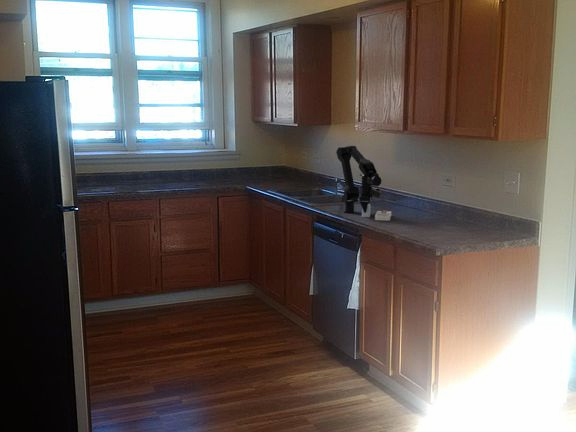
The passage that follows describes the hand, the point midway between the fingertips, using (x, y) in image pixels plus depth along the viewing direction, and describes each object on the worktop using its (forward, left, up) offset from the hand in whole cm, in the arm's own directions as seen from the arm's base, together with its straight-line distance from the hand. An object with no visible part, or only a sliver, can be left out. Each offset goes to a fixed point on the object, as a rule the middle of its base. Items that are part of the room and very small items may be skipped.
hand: (366, 211), depth 370 cm
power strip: (+3, +10, -3) cm, 11 cm away
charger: (0, 0, -3) cm, 3 cm away
